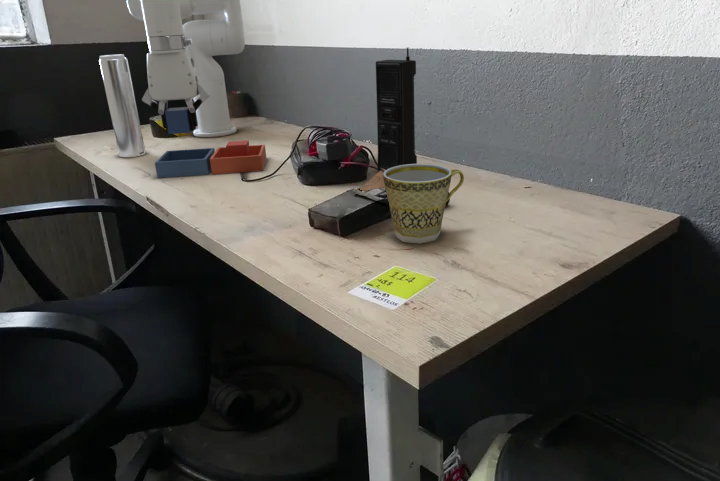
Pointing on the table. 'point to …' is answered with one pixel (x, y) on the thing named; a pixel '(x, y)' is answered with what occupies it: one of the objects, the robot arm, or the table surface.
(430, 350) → the table surface
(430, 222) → the ceramic cup
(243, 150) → the red block
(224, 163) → the red bin
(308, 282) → the table surface
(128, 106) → the shiny metal cylinder
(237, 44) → the robot arm
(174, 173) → the blue bin
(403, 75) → the portable radio
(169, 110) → the blue block
